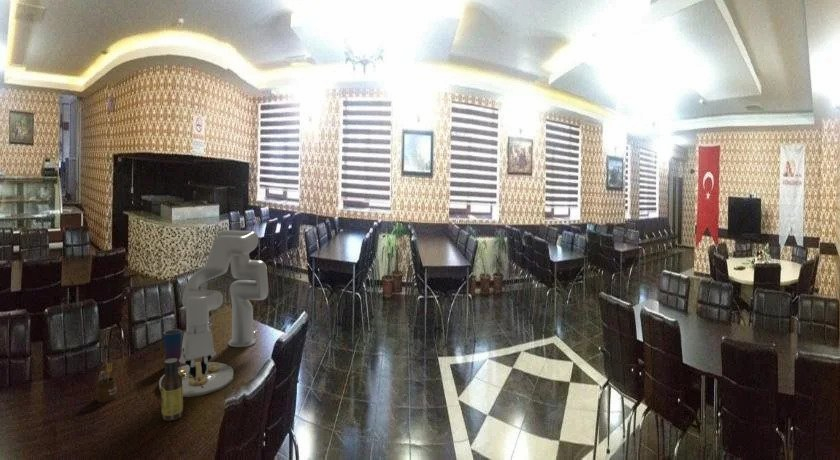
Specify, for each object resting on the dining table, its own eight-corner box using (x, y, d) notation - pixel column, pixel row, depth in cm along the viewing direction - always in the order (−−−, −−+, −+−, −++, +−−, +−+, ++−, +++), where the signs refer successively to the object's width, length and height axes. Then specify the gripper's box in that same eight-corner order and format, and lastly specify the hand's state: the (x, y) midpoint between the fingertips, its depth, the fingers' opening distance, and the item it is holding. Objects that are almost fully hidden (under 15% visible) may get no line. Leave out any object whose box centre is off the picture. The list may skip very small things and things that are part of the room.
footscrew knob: (187, 380, 164) (187, 363, 164) (206, 377, 168) (206, 360, 167) (189, 388, 158) (189, 370, 158) (208, 384, 162) (208, 366, 161)
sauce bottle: (167, 412, 146) (166, 355, 144) (186, 411, 147) (185, 355, 145) (157, 422, 140) (156, 363, 138) (177, 422, 141) (177, 363, 139)
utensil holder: (93, 403, 150) (92, 370, 149) (101, 395, 156) (100, 363, 155) (112, 402, 151) (111, 369, 150) (119, 393, 157) (119, 362, 156)
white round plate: (195, 364, 186) (195, 354, 185) (247, 373, 179) (247, 363, 178) (142, 390, 161) (142, 379, 160) (199, 402, 154) (199, 390, 153)
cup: (160, 366, 181) (159, 332, 180) (175, 361, 187) (175, 328, 186) (170, 370, 178) (169, 335, 177) (185, 365, 184) (185, 331, 183)
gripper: (216, 321, 170) (216, 365, 172) (170, 329, 158) (171, 377, 160) (223, 326, 164) (224, 372, 166) (176, 335, 153) (177, 384, 155)
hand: (198, 374), depth 163 cm, fingers open, 2 cm apart
